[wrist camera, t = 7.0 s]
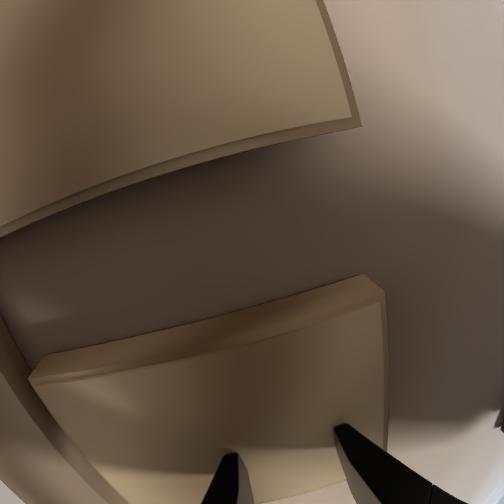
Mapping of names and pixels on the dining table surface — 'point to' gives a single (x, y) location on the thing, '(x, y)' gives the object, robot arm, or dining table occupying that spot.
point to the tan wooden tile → (40, 443)
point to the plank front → (154, 91)
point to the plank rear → (229, 396)
